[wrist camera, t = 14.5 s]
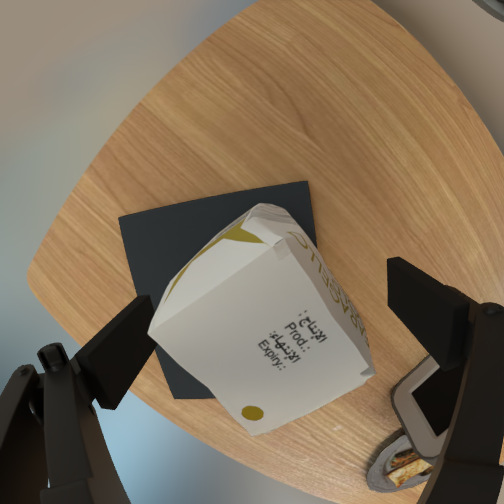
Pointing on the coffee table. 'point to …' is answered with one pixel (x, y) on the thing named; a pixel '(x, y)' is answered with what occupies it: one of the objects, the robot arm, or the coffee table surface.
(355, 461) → the coffee table surface
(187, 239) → the drinks mat
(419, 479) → the food plate
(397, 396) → the alarm clock
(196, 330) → the juice carton
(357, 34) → the coffee table surface
